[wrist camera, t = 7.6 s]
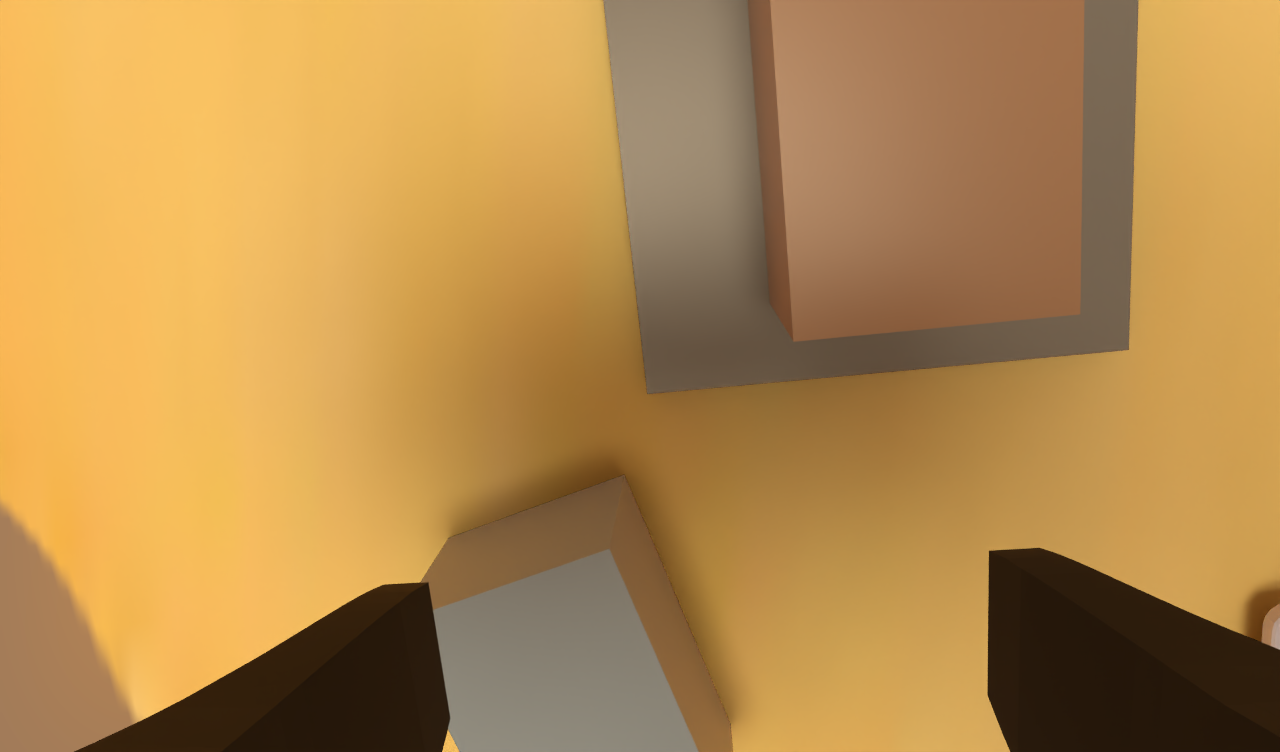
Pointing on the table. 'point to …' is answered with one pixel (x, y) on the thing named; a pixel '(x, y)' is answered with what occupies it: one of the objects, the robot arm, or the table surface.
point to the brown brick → (919, 161)
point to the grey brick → (570, 635)
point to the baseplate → (734, 225)
